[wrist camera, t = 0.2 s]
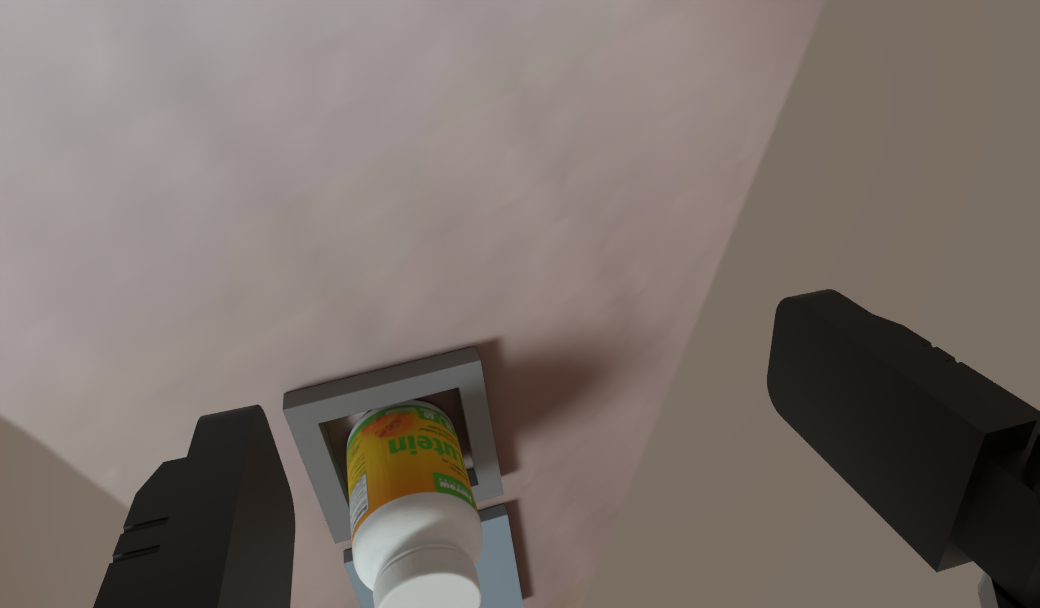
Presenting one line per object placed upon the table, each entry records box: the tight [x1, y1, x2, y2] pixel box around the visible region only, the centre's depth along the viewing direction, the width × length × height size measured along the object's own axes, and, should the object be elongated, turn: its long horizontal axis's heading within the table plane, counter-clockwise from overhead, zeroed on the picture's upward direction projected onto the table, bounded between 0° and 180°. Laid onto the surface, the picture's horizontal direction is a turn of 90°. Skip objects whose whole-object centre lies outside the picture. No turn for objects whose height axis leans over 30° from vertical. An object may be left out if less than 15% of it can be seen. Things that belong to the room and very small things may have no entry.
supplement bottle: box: [347, 400, 483, 608], centre depth 28 cm, size 5×5×10 cm
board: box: [344, 504, 524, 608], centre depth 37 cm, size 9×9×1 cm
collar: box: [283, 346, 504, 544], centre depth 32 cm, size 9×9×1 cm
